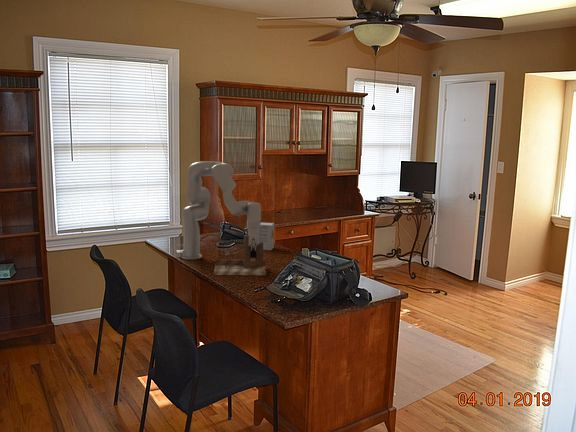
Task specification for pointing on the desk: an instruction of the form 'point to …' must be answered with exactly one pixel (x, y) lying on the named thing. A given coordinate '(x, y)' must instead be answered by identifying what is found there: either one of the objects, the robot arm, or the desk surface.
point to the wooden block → (247, 261)
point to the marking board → (236, 268)
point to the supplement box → (266, 235)
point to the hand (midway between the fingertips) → (253, 255)
